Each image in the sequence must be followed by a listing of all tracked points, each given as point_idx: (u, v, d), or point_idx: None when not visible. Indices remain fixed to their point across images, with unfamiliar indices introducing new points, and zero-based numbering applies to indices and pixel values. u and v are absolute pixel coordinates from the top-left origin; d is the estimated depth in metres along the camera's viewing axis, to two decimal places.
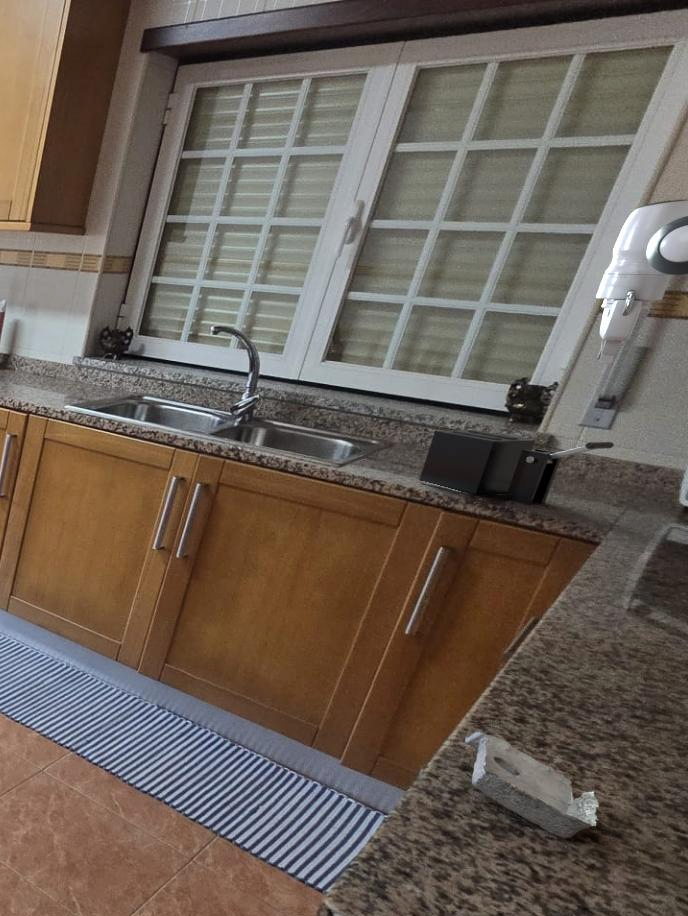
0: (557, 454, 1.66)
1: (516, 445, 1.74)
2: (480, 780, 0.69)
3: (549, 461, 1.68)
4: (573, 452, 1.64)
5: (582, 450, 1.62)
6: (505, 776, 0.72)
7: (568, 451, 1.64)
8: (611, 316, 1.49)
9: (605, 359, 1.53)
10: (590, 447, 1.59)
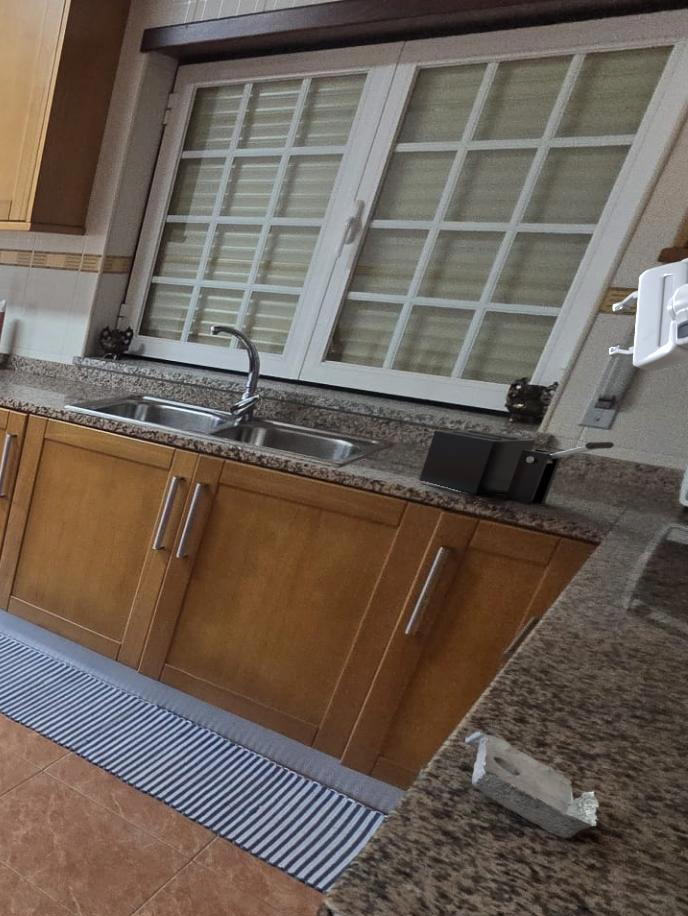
0: (557, 454, 1.66)
1: (516, 445, 1.74)
2: (480, 780, 0.69)
3: (549, 461, 1.68)
4: (573, 452, 1.64)
5: (582, 450, 1.62)
6: (505, 776, 0.72)
7: (568, 451, 1.64)
8: None
9: None
10: (590, 447, 1.59)
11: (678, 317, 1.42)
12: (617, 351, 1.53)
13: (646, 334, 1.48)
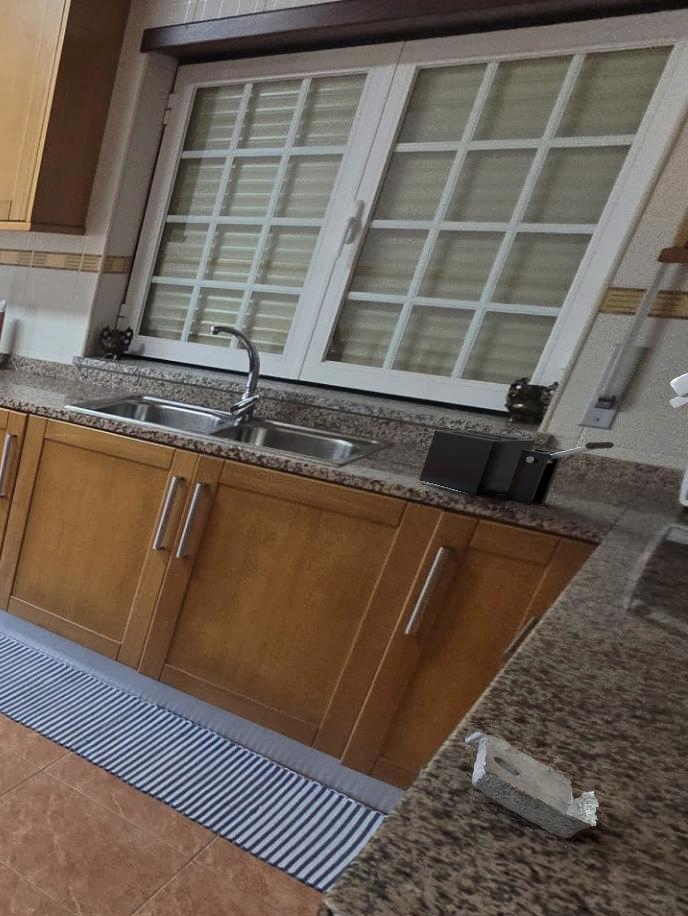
0: (557, 454, 1.66)
1: (516, 445, 1.74)
2: (480, 780, 0.69)
3: (549, 461, 1.68)
4: (573, 452, 1.64)
5: (582, 450, 1.62)
6: (505, 776, 0.72)
7: (568, 451, 1.64)
8: None
9: (676, 401, 1.48)
10: (590, 447, 1.59)
11: None
12: None
13: None
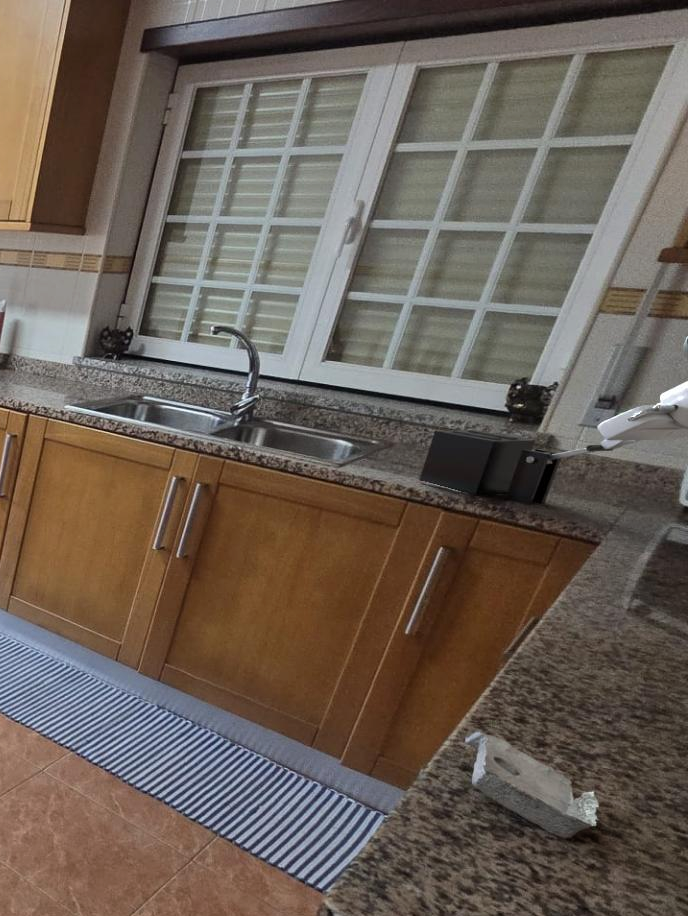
0: (557, 455, 1.66)
1: (516, 445, 1.74)
2: (480, 780, 0.69)
3: (549, 461, 1.68)
4: (573, 454, 1.64)
5: (582, 452, 1.62)
6: (505, 776, 0.72)
7: (568, 453, 1.64)
8: (621, 414, 1.50)
9: (606, 443, 1.58)
10: (591, 450, 1.59)
11: None
12: (623, 445, 1.58)
13: (666, 434, 1.54)
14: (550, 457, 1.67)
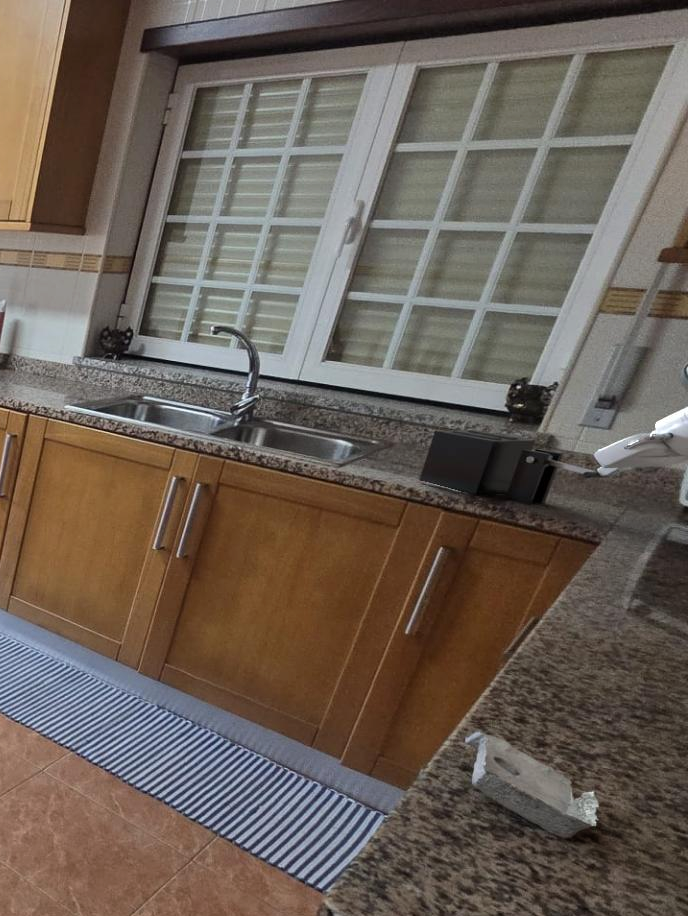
0: (557, 464, 1.66)
1: (516, 445, 1.74)
2: (480, 780, 0.69)
3: (546, 465, 1.69)
4: (570, 469, 1.64)
5: (579, 471, 1.63)
6: (505, 776, 0.72)
7: (567, 466, 1.65)
8: (617, 442, 1.51)
9: (603, 470, 1.59)
10: (586, 477, 1.60)
11: None
12: (619, 472, 1.59)
13: (662, 462, 1.54)
14: (549, 462, 1.67)
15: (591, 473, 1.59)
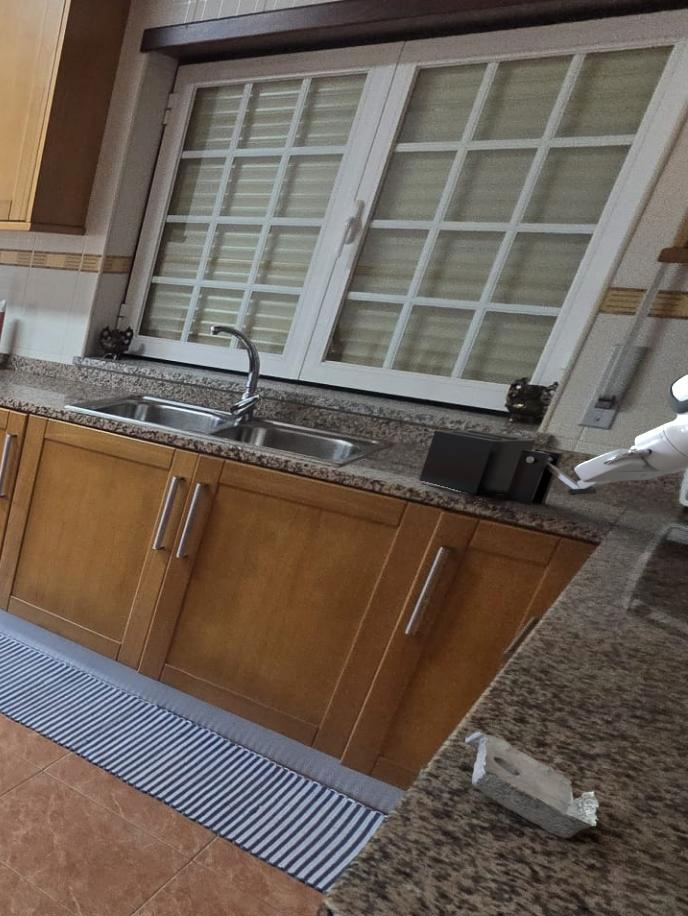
0: (552, 469, 1.67)
1: (516, 445, 1.74)
2: (480, 780, 0.69)
3: None
4: (562, 479, 1.66)
5: (568, 484, 1.65)
6: (505, 776, 0.72)
7: (560, 475, 1.66)
8: (597, 457, 1.53)
9: (582, 483, 1.62)
10: (570, 493, 1.62)
11: None
12: (598, 485, 1.61)
13: (640, 476, 1.57)
14: (546, 466, 1.68)
15: (577, 491, 1.62)
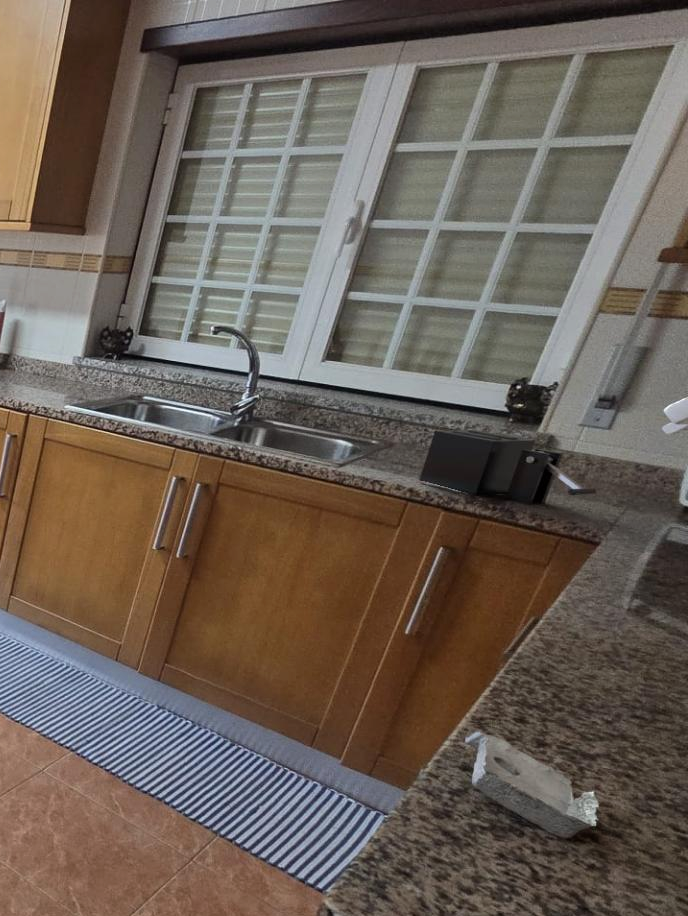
0: (552, 469, 1.67)
1: (516, 445, 1.74)
2: (480, 780, 0.69)
3: None
4: (562, 479, 1.66)
5: (568, 484, 1.65)
6: (505, 776, 0.72)
7: (560, 475, 1.66)
8: None
9: (669, 428, 1.47)
10: (570, 493, 1.62)
11: None
12: (686, 430, 1.47)
13: None
14: (546, 466, 1.68)
15: (577, 491, 1.62)
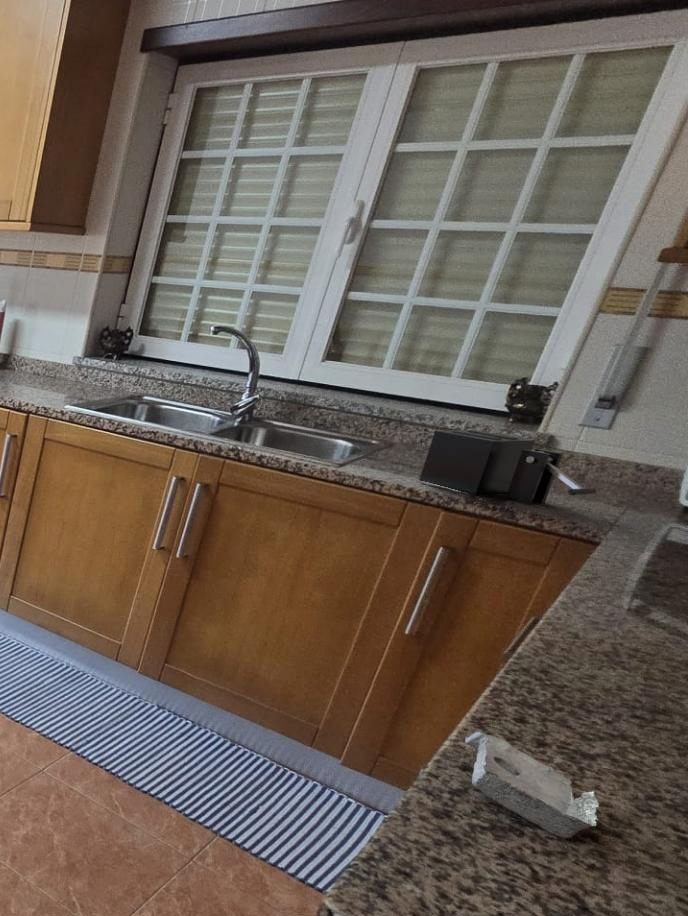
0: (552, 469, 1.67)
1: (516, 445, 1.74)
2: (480, 780, 0.69)
3: None
4: (562, 479, 1.66)
5: (568, 484, 1.65)
6: (505, 776, 0.72)
7: (560, 475, 1.66)
8: None
9: None
10: (570, 493, 1.62)
11: None
12: None
13: None
14: (546, 466, 1.68)
15: (577, 491, 1.62)
